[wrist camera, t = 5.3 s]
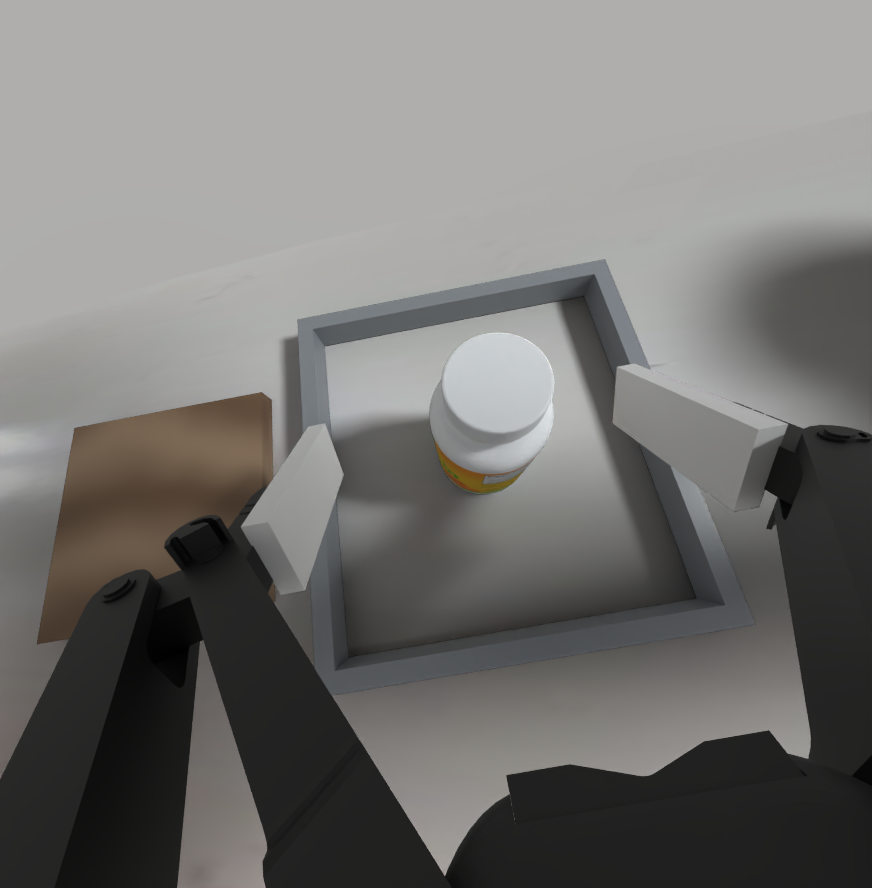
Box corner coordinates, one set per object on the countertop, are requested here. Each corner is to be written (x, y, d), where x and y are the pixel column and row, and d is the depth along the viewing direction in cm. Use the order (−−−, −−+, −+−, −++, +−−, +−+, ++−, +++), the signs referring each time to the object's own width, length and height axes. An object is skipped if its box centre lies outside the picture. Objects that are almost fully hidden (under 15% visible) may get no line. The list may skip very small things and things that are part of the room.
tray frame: (723, 615, 17) (756, 624, 15) (331, 681, 18) (315, 698, 16) (593, 282, 24) (604, 259, 22) (310, 337, 24) (297, 319, 22)
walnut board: (275, 601, 19) (263, 604, 18) (61, 638, 20) (36, 644, 18) (271, 399, 23) (261, 392, 22) (93, 433, 23) (74, 427, 22)
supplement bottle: (427, 430, 22) (400, 344, 12) (503, 401, 22) (534, 295, 12) (457, 508, 20) (452, 477, 11) (540, 477, 20) (605, 419, 11)
